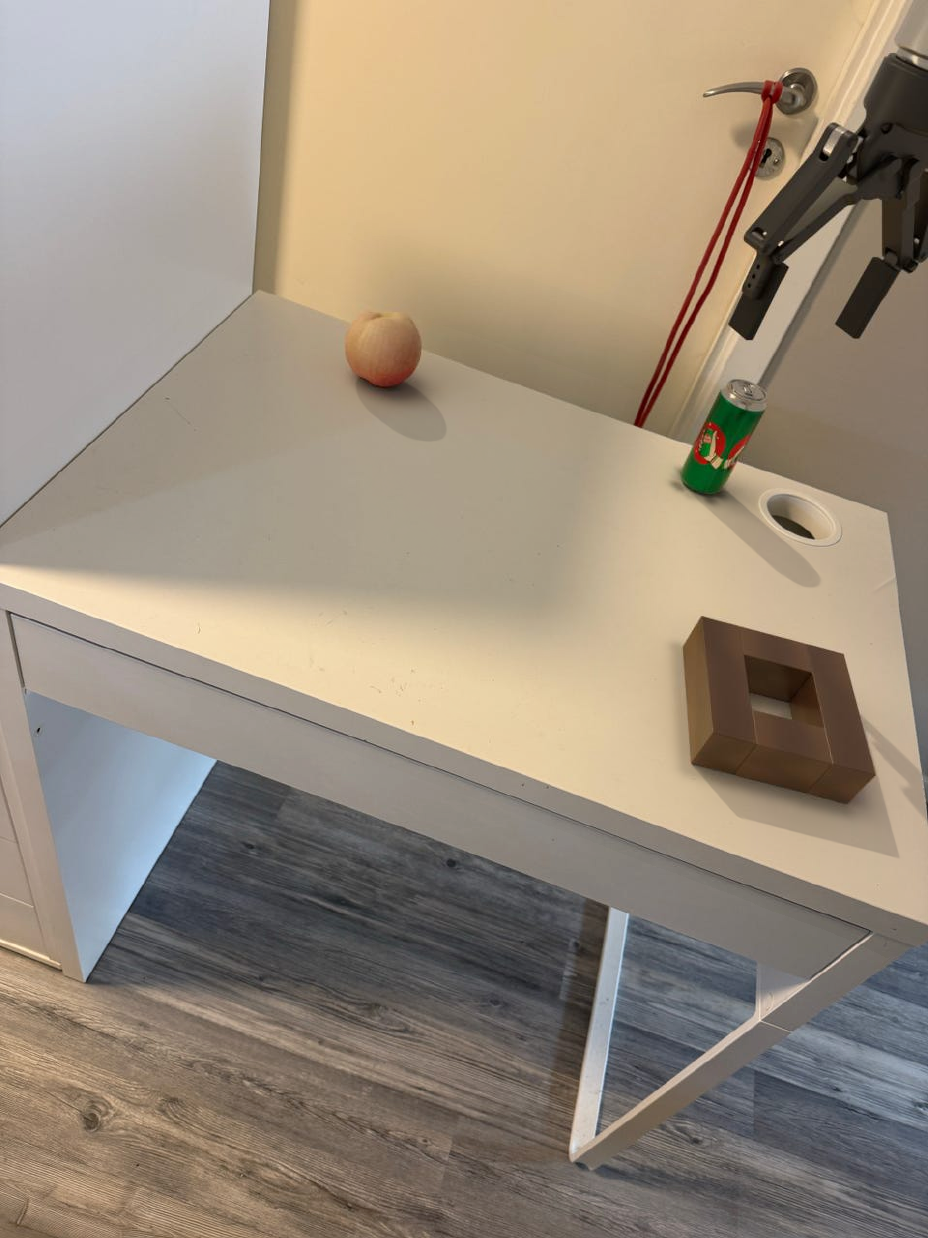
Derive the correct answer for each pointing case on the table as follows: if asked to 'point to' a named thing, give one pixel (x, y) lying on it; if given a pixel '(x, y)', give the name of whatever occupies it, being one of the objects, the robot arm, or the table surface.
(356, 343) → the fruit
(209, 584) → the table surface
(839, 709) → the holder
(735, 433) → the soda can
